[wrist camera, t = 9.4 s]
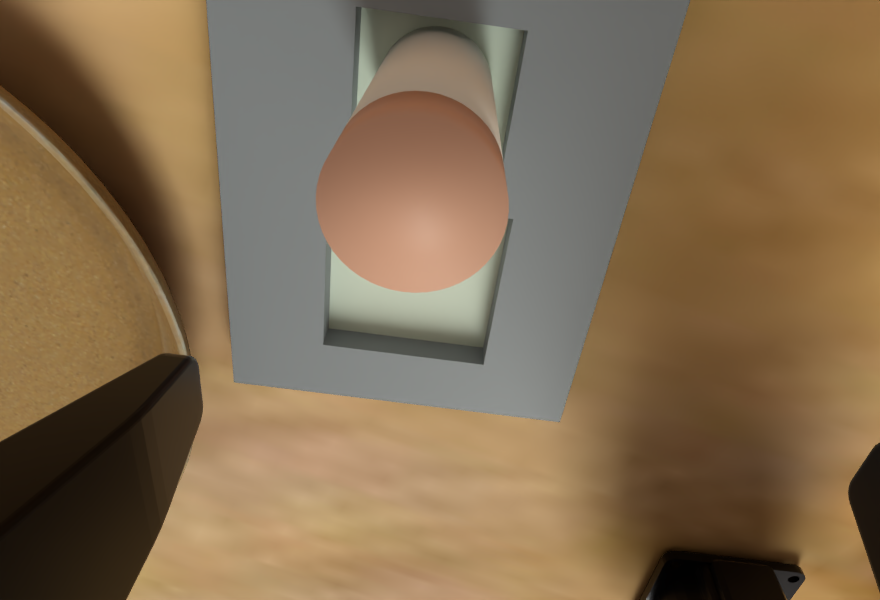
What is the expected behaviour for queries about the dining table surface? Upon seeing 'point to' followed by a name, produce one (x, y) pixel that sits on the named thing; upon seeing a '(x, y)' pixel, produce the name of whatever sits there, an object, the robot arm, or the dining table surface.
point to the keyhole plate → (527, 177)
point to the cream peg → (418, 169)
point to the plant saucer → (68, 278)
